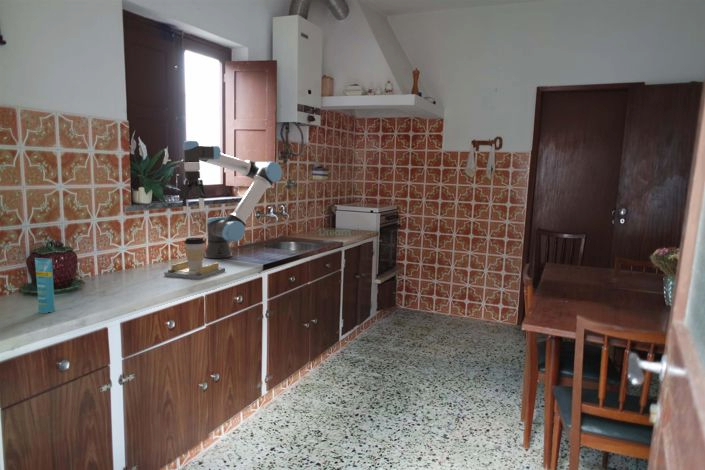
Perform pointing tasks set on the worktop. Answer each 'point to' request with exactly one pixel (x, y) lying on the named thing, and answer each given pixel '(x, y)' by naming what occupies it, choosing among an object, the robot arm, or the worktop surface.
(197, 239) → the coffee cup
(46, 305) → the tube
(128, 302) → the worktop surface
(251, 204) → the robot arm
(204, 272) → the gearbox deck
